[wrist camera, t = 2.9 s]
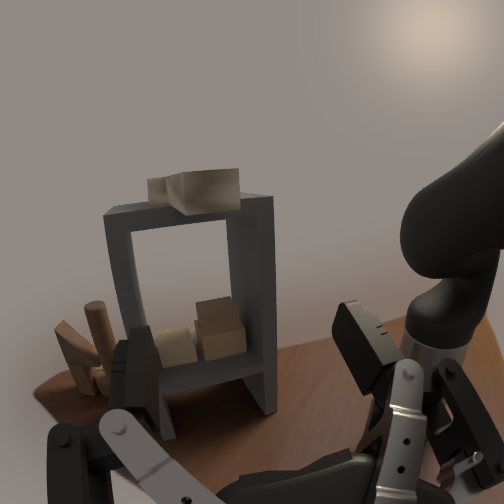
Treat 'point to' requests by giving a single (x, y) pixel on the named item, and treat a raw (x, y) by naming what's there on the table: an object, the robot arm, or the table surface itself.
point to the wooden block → (89, 350)
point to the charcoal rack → (208, 304)
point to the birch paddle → (197, 191)
